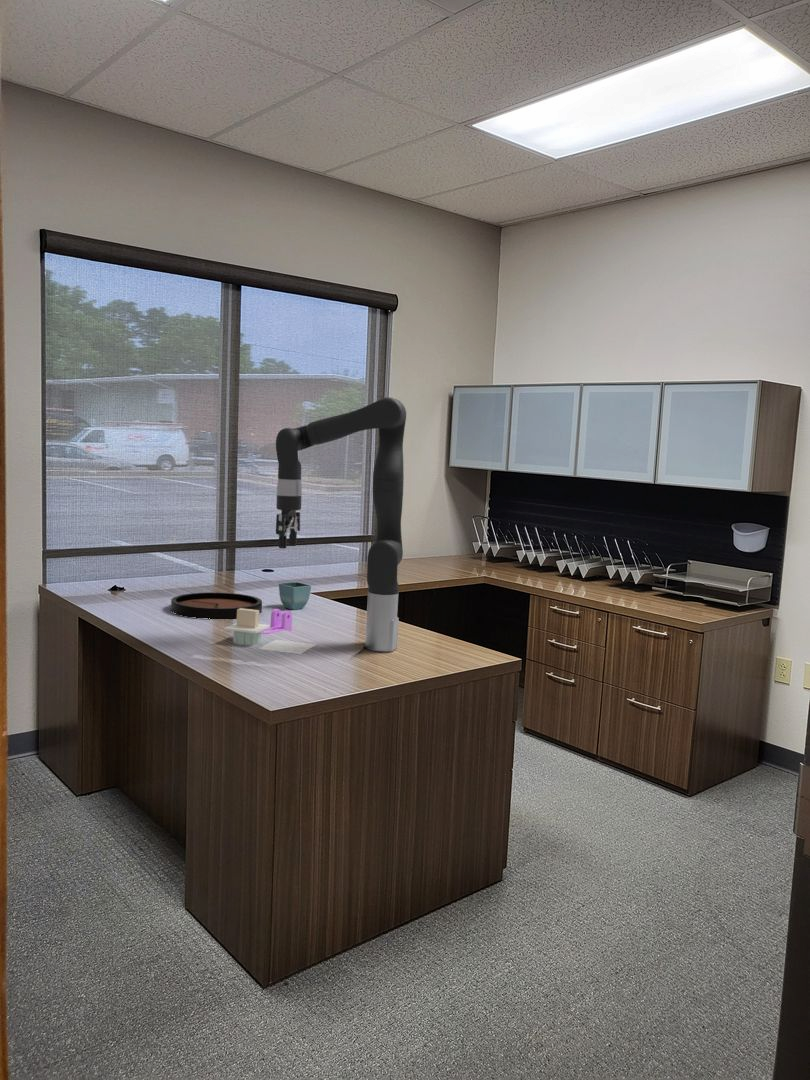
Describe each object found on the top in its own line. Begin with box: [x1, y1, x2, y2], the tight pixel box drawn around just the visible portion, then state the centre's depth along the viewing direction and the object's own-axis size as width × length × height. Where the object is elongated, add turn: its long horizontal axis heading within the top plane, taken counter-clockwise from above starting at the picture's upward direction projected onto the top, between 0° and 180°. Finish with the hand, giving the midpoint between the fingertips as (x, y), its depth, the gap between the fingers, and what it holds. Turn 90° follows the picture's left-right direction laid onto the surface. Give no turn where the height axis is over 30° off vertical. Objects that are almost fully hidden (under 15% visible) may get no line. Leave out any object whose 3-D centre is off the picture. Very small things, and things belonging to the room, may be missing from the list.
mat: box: [257, 639, 317, 655], centre depth 249 cm, size 13×13×1 cm
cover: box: [223, 608, 271, 634], centre depth 251 cm, size 10×10×6 cm
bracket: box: [261, 608, 293, 635], centre depth 269 cm, size 13×6×7 cm, turn 152°
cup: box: [232, 631, 262, 646], centre depth 252 cm, size 8×8×5 cm
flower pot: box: [278, 581, 312, 610], centre depth 312 cm, size 9×9×9 cm
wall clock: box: [170, 591, 263, 620], centre depth 300 cm, size 31×4×31 cm
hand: (287, 546), depth 260 cm, fingers open, 8 cm apart
